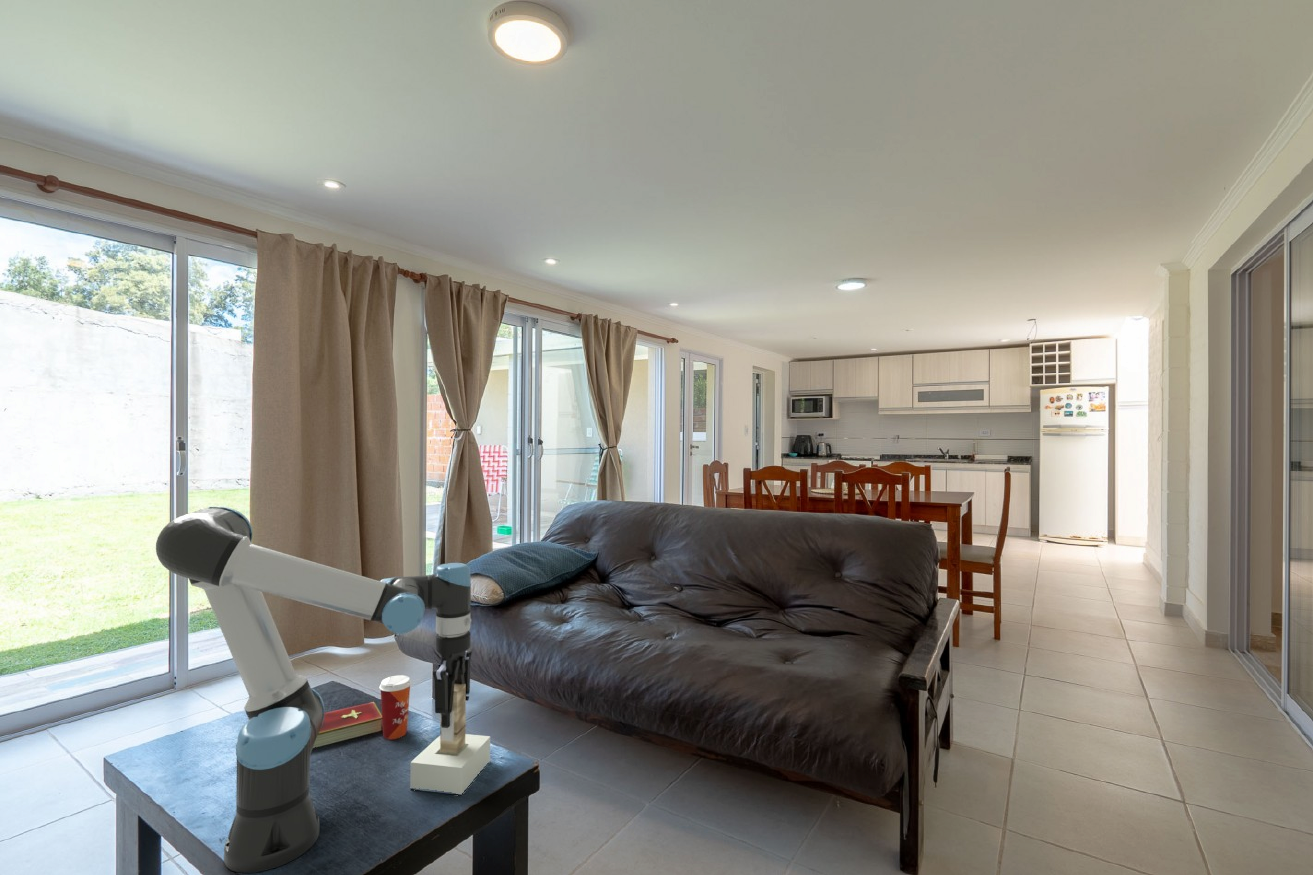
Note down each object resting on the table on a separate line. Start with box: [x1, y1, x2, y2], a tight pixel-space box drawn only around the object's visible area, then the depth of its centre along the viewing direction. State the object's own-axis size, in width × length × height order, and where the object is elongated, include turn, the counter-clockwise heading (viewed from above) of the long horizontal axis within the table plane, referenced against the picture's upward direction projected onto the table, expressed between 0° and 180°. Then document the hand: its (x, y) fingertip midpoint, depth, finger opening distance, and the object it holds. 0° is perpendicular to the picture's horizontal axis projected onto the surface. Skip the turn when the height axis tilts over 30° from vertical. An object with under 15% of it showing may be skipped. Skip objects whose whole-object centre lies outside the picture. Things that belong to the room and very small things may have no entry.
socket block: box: [409, 733, 491, 794], centre depth 137 cm, size 14×12×6 cm
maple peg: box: [439, 684, 467, 754], centre depth 138 cm, size 4×4×14 cm
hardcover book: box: [312, 701, 382, 749], centre depth 157 cm, size 12×21×4 cm, turn 126°
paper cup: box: [379, 674, 412, 740], centre depth 156 cm, size 8×8×14 cm
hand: (452, 734), depth 138 cm, fingers closed on maple peg, 4 cm apart
